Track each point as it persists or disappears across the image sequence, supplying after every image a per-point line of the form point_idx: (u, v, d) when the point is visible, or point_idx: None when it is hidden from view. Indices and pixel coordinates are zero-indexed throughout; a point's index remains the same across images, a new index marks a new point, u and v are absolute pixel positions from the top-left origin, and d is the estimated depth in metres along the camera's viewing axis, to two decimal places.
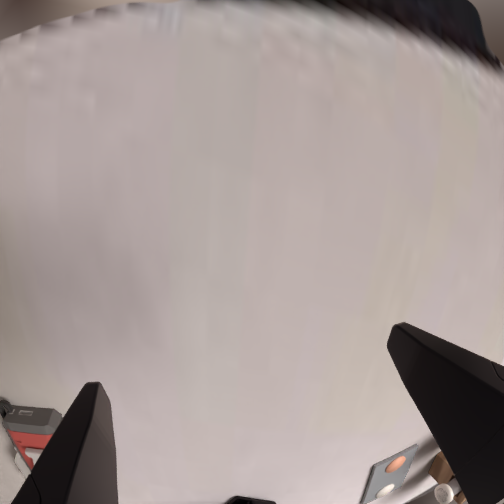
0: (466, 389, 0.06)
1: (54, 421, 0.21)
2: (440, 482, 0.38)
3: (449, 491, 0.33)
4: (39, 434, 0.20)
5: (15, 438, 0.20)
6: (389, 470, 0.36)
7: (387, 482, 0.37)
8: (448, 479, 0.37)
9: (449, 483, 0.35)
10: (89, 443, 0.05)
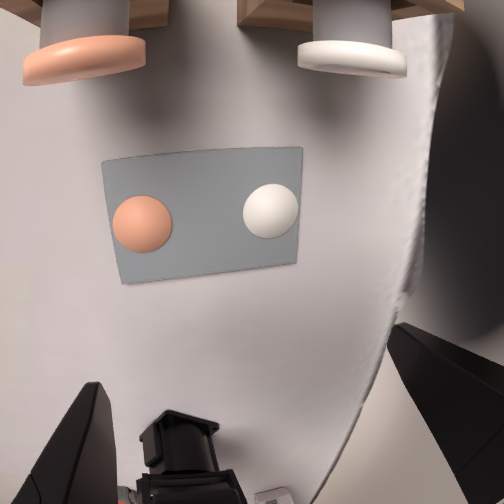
0: (466, 389, 0.06)
1: None
2: None
3: (319, 55, 0.09)
4: None
5: None
6: (156, 239, 0.19)
7: (226, 217, 0.20)
8: None
9: None
10: (89, 443, 0.05)
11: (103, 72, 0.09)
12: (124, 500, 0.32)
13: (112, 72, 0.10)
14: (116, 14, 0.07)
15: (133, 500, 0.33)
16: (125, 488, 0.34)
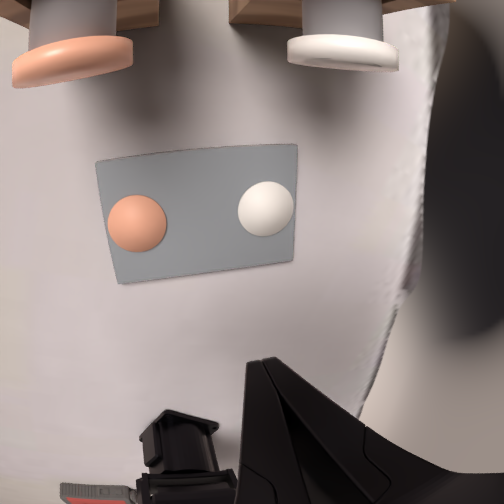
0: (319, 458, 0.05)
1: (61, 491, 0.30)
2: None
3: (307, 50, 0.09)
4: (69, 501, 0.30)
5: None
6: (151, 238, 0.19)
7: (221, 216, 0.20)
8: None
9: None
10: (283, 418, 0.06)
11: (92, 73, 0.09)
12: (124, 499, 0.32)
13: (101, 72, 0.10)
14: (102, 15, 0.07)
15: (133, 499, 0.33)
16: (125, 487, 0.34)
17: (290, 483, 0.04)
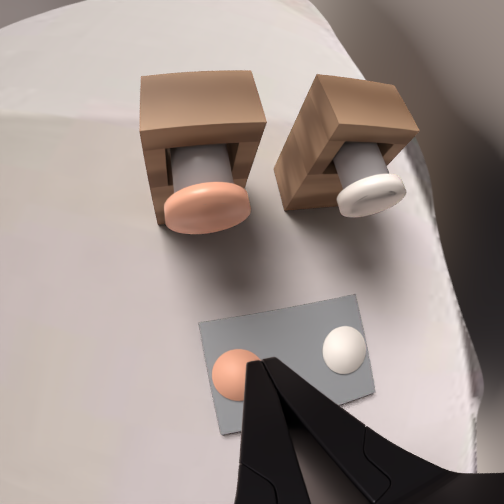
0: (319, 458, 0.05)
1: None
2: None
3: (352, 194, 0.17)
4: None
5: None
6: None
7: (310, 361, 0.22)
8: None
9: (341, 184, 0.20)
10: (283, 417, 0.06)
11: (217, 224, 0.17)
12: None
13: (221, 227, 0.18)
14: (229, 176, 0.16)
15: None
16: None
17: (290, 483, 0.04)
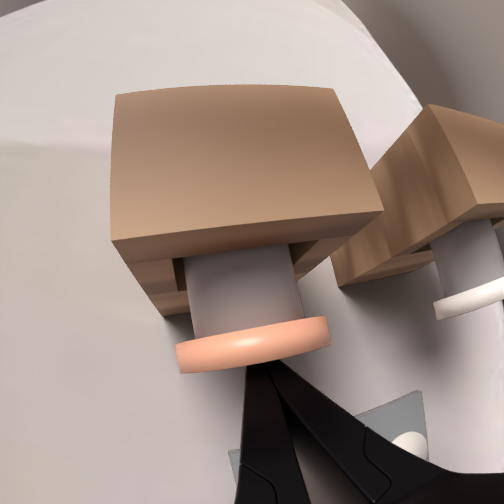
0: (319, 458, 0.05)
1: None
2: None
3: (468, 305, 0.10)
4: None
5: None
6: None
7: None
8: None
9: (440, 274, 0.12)
10: (282, 417, 0.06)
11: None
12: None
13: None
14: (295, 287, 0.09)
15: None
16: None
17: (290, 483, 0.04)
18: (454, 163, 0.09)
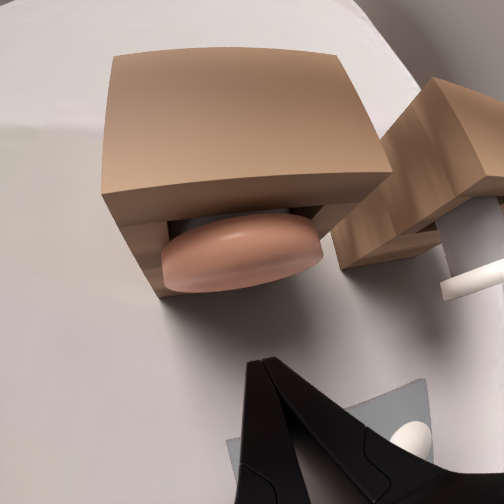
0: (319, 458, 0.05)
1: None
2: None
3: (476, 284, 0.09)
4: None
5: None
6: None
7: None
8: (437, 231, 0.13)
9: (447, 254, 0.12)
10: (283, 417, 0.06)
11: (255, 279, 0.10)
12: None
13: (260, 281, 0.10)
14: None
15: None
16: None
17: (290, 483, 0.04)
18: (461, 135, 0.08)
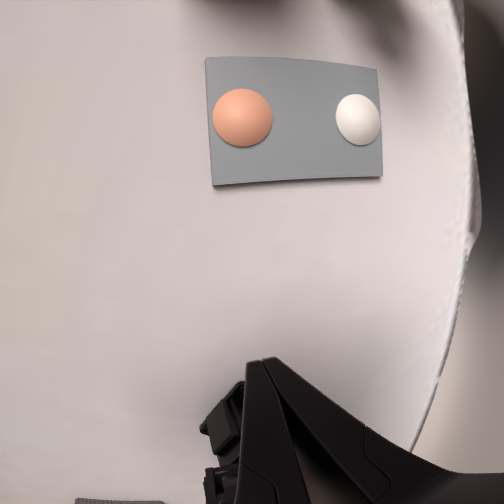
0: (319, 458, 0.05)
1: None
2: None
3: None
4: None
5: None
6: (256, 133, 0.18)
7: (321, 120, 0.19)
8: None
9: None
10: (283, 417, 0.06)
11: None
12: None
13: None
14: None
15: None
16: (160, 503, 0.26)
17: (290, 483, 0.04)
18: None
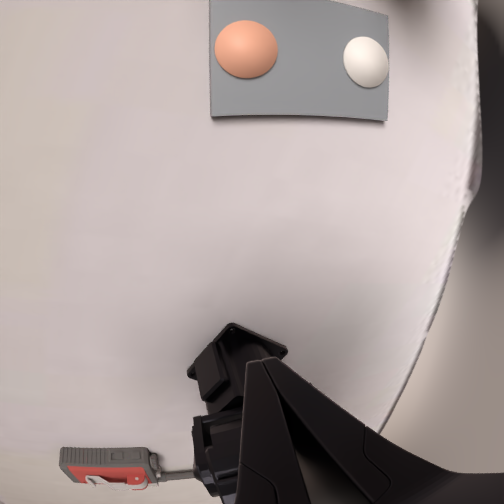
0: (319, 458, 0.05)
1: (60, 458, 0.26)
2: None
3: None
4: (71, 472, 0.26)
5: None
6: (260, 65, 0.16)
7: (328, 58, 0.17)
8: None
9: None
10: (282, 417, 0.06)
11: None
12: (143, 465, 0.28)
13: None
14: None
15: (155, 466, 0.29)
16: (144, 450, 0.29)
17: (290, 483, 0.04)
18: None
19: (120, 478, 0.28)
